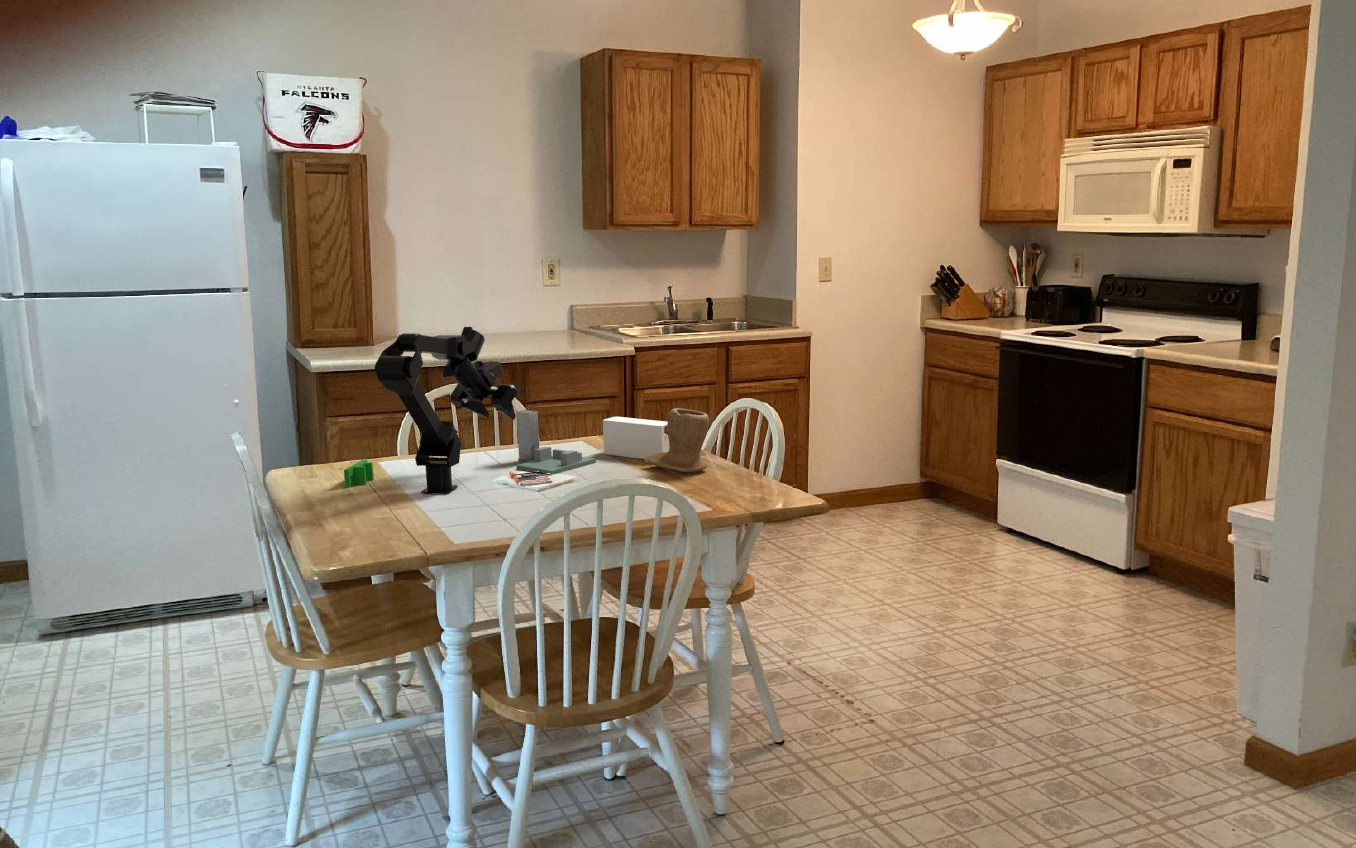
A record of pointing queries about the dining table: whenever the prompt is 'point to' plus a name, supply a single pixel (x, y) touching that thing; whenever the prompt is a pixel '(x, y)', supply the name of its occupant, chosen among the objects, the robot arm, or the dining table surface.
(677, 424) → the fuzzy boot
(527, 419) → the bar
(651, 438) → the white rectangular box
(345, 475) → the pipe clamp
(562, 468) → the socket plate
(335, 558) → the dining table surface
